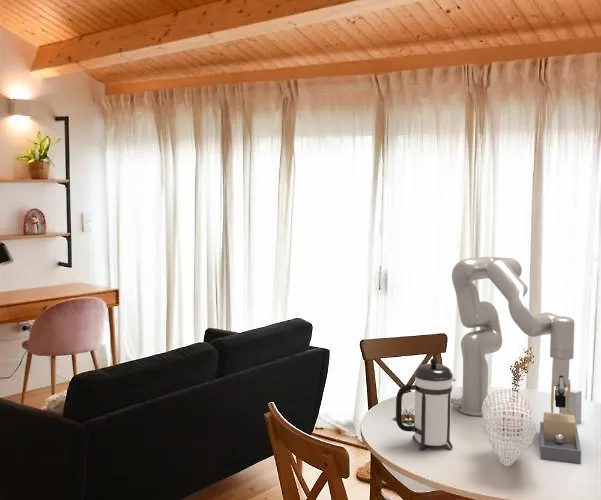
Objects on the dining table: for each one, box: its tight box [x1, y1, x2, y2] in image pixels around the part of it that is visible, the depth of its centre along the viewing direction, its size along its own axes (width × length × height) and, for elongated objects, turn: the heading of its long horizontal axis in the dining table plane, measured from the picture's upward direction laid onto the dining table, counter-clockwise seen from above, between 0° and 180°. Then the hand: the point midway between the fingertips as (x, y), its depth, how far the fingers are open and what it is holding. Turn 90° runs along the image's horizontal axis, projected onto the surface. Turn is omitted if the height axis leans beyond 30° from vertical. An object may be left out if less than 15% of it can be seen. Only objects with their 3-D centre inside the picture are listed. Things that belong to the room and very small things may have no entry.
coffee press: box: [395, 357, 457, 452], centre depth 230 cm, size 17×16×30 cm
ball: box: [554, 433, 565, 444], centre depth 230 cm, size 3×3×3 cm
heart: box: [481, 388, 537, 467], centre depth 213 cm, size 28×16×22 cm, turn 167°
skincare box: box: [561, 387, 582, 425], centre depth 253 cm, size 6×4×12 cm
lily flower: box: [392, 408, 415, 426], centre depth 256 cm, size 12×12×5 cm
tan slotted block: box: [550, 378, 571, 414], centre depth 234 cm, size 6×6×11 cm
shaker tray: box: [539, 411, 582, 465], centre depth 229 cm, size 12×24×8 cm, turn 161°
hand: (560, 403), depth 234 cm, fingers closed on tan slotted block, 5 cm apart
